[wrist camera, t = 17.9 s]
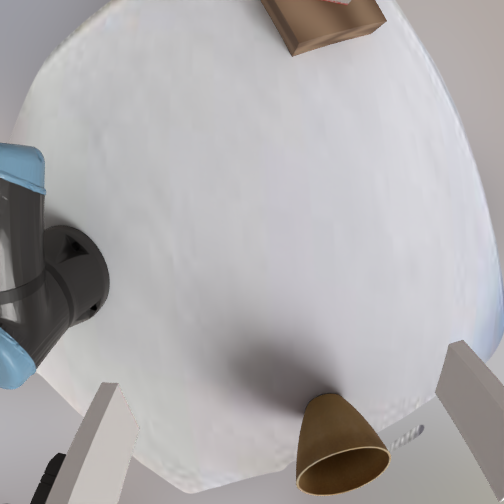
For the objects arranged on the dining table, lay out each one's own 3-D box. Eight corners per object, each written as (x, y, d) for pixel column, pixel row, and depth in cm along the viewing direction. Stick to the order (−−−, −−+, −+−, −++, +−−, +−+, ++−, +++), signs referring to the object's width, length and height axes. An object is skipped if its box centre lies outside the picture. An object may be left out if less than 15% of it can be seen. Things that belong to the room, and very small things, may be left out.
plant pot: (317, 439, 56) (330, 502, 41) (269, 408, 52) (275, 481, 37) (378, 401, 53) (405, 463, 37) (337, 363, 49) (364, 435, 34)
